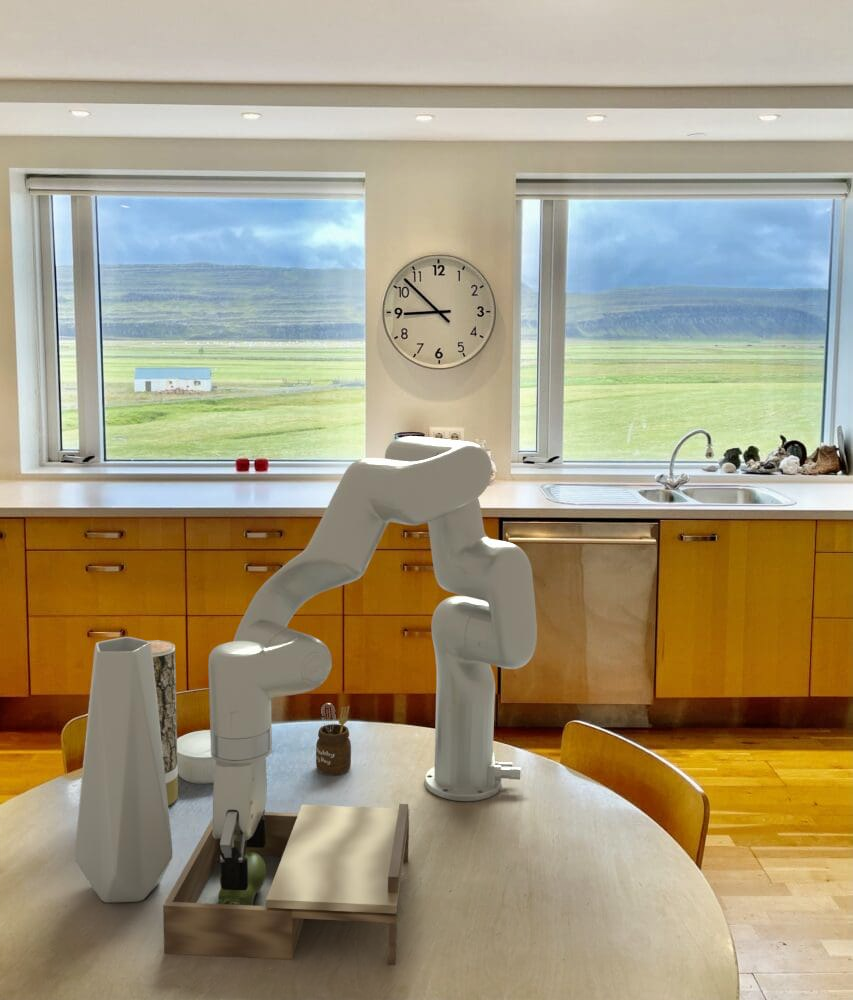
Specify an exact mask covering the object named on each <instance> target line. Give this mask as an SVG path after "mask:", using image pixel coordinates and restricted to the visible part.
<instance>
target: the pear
mask: <svg viewBox="0 0 853 1000" xmlns="http://www.w3.org/2000/svg"><path fill="white" fill-rule="evenodd" d="M245 858H248V888H247V889H246V890H224V889H222V887H221V886H220V888H219V889H220V890H219V892H218V895H217V897H218V901H217V904H228V905H250V906H254V899H255V897H256V894H257V893H258V892H260V890H261V888H262V887H263V886H264V883H265V880H266V875H267V869H266V863H265V861H264V858H263V857H262V855H259V854H257V853H256V852H253V851H249V850H246V852H245ZM219 879H220V882H219V884H220V885H221V876H220V877H219Z"/></svg>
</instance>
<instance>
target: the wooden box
mask: <svg viewBox="0 0 853 1000" xmlns="http://www.w3.org/2000/svg"><path fill="white" fill-rule="evenodd" d="M298 814H299V812H298V813H291V812H290V813H289V812H271V811H270V812H269V811H265V814H264V817H261V818H265V834H266V844H265V846H264V847H263V848H252V847H246V850H249V851H253V852H256V853H257V854H259V855H260V856H275V857H276V856H278V857H279V856H280V857H282V856H283V853H284V851H285V848H286V846H287V843H288V840H289V838H290V835H291V832H292V830H293V827H294V824H295V822H296V819H297V817H298ZM409 829H410V820H409V821H408V828H407V836H406V843H405V851H404V858H403V862H409V849H410V848H409V841H410V840H409V839H410V838H409V837H410V836H409V834H410V830H409ZM235 834H241V830H236V832H235ZM220 841H221V839H220V838H219V839H215V838H214V837H213V817H212V819H211V820H210V822H209V824H208V825H207V827H206V829H205V830H204V832H203V834H202V836H201V837H200V840H199V841H198V843H197V845H196V847H195V848H194V850H193V852H192V854H191V856H190V858H189V859H188V861H187V863H186V864H185V866H184V868H183V869H182V871H181V873H180V875H179V877H178V879H177V880H176V882H175V884H174V886H173V887H172V890H171V891H170V893H169V894H168V897H167V898H166V900H165V902H164V903H163V905H162V908H163V909H162V913H163V918H162V919H163V952H164V954H169V955H170V954H171V955H172V954H173V955H174V954H175V955H192V956H193V955H195V956H212V957H213V956H214V957H231V958H232V957H233V958H234V957H236V958H257V959H273V960H274V959H277V960H293V957H294V954H295V951H296V948H297V944H298V941H299V938H300V934H301V930H302V927H303V925H304V921H305V919H307V920H323V921H324V920H326V921H327V920H329V921H348V922H349V921H350V922H370V923H371V922H373V923H388V959H387V961H388V965H396V961H397V917H398V915H397V914H398V913H397V912H398V911H396V914H395V913H373V912H351V911H330V910H308V909H286V908H266V905H263V906H262V905H253V906H250V905H228V904H218V903H207V902H206V903H203V902H198V901H199V900H200V897H201V896H202V893H203V892H204V890H205V888H206V885H207V883H208V881H209V879H210V878H211V875H212V873H213V872H214V869H215V868H216V866H217V863H218V862H219V861H220V857H221V855H220V852H221V846H220ZM240 842H241V841H234V847H237V849H238V850H240Z"/></svg>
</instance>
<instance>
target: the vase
mask: <svg viewBox="0 0 853 1000" xmlns="http://www.w3.org/2000/svg"><path fill="white" fill-rule="evenodd" d="M148 641H149V640H144V639H140V638H137V637H132V636H123V637H117V638H111V639H106V640H102V641H98V642H95V644H94V652H93V662H92V663H93V664H92V670H91V671H92V672H91V679H90V680H91V682H90V690H89V691H90V692H89V701H88V710H87V711H88V712H87V720H86V721H87V722H86V729H85V730H86V732H85V741H84V753H83V760H82V772H81V773H82V774H81V781H80V783H81V784H80V793H79V804H78V811H77V814H78V815H77V822H76V823H77V824H76V834H75V843H74V844H75V845H74V859H75V863H76V865H78V868H79V869H80V871H81V872H82V874H83V875H84V877H85V878H86V881H88V883H89V884H90V886H91V887H92V888H93V890H94V892H95V893H96V895H97V896H98V898H99V899H100V900H101V901H102V902H104V903H109V904H110V903H111V904H112V903H135V902H141V901H144V900H145V899H146V897H148V896H149V895H150V894H151V893H152V891H153V890H154V889H155V888H156V887H157V886H158V885H159V884H160V882H162V879H163V878H164V876H165V874H166V872H167V869H168V867H169V865H170V864H171V861H172V858H173V842H172V841H173V840H172V831H171V822H170V812H169V806H168V801H167V791H166V781H165V771H164V762H163V752H162V742H161V732H160V723H159V713H158V703H157V694H156V684H155V675H154V665H153V656H152V647H151V643H150V642H148Z"/></svg>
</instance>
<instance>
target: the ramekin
mask: <svg viewBox="0 0 853 1000" xmlns="http://www.w3.org/2000/svg"><path fill="white" fill-rule="evenodd" d="M215 765H216V760H214V759H213V758H212V756H211V738H210V729H203V730H197V731H192V732H189V733H185V734H184V735H182V736H179V737H177V766H178V775H179V777H180V778H181V779H182V780H183V781H185V782H188V783H191V784H199V785H200V784H201V785H203V784H214V774H215Z"/></svg>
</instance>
